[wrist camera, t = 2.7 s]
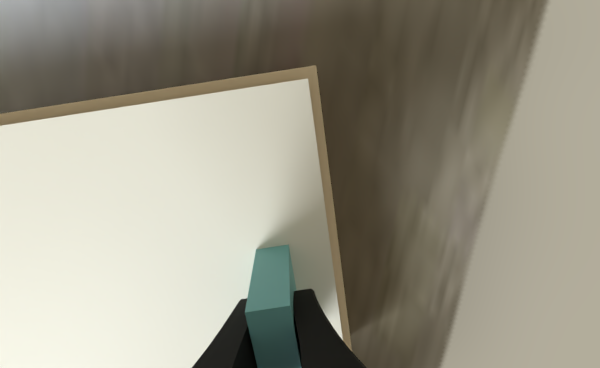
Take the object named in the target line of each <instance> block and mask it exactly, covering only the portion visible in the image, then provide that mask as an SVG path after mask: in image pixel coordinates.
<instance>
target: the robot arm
mask: <svg viewBox="0 0 600 368" xmlns="http://www.w3.org/2000/svg"><path fill="white" fill-rule="evenodd" d="M246 303H247V298H246V299H241V300H240V301H239V302H238V304H237V305H236V307H235V308H234V310H233V311H232V313H231V314H230V316H229V317H228V319H227V320H226V322H225V323H224V325H223V326H222V328H221V329H220V331H219V332H218V334H217V335H216V336H215V338H214V339H213V341H212V342H211V343H210V345H209V346H208V347H207V349H206V350H205V351H204V353H203V354H202V355H201V356H200V358H199V359H198V360H197V362H196V363H195V364H194V365H193V367H192V368H257V363H256V359H255V355H254V350H253V346H252V342H251V337H250V333H249V329H248V324H247V320H246V316H245V308H246ZM293 309H294V314H295V320H296V326H297V331H298V337H299V342H300V350H301V367H302V368H366V367H365V366H364V365H363V364H362V362H361V361H360V360H359V359H358V358H357V357H356V356H355V355H354V354H353V352H352V351H351V350H350V349H349V348H348V346H347V345H346V344H345V343H344V341H343V340H342V339H341V337H340V336H339V335H338V333H337V332H336V331H335V329H334V328H333V326H332V325H331V323H330V322H329V320H328V318H327V317H326V315H325V314H324V312H323V310H322V308H321V306H320V304H319V302H318V300H317V298H316V295H315V291H314V290H312V289H311V288H310V289H304V290H298V291H294V296H293Z"/></svg>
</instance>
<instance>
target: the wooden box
mask: <svg viewBox="0 0 600 368" xmlns="http://www.w3.org/2000/svg"><path fill="white" fill-rule="evenodd" d="M301 79H308V83H309V90H310V98H311V105H312V112H313V120H314V127H315V135H316V142H317V150H318V157H319V165H320V172H321V180H322V187H323V195H324V202H325V210H326V217H327V225H328V232H329V240H330V247H331V255H332V262H333V270H334V277H335V285H336V292H337V300H338V307H339V315H340V322H341V330H342V337H343V341H344V343H345V344H346V345H347V346H348V348H349V349H350V350H351V351H352V347H351V339H350V331H349V323H348V315H347V307H346V299H345V291H344V283H343V275H342V267H341V259H340V251H339V243H338V235H337V227H336V219H335V211H334V203H333V195H332V187H331V179H330V171H329V163H328V155H327V147H326V139H325V131H324V124H323V116H322V108H321V100H320V92H319V84H318V76H317V68H316V65H314V66H308V67H301V68H295V69H288V70H282V71H275V72H269V73H262V74H256V75H249V76H243V77H236V78H230V79H223V80H217V81H210V82H204V83H197V84H191V85H184V86H178V87H171V88H165V89H158V90H152V91H145V92H139V93H132V94H125V95H119V96H112V97H106V98H99V99H93V100H86V101H80V102H73V103H67V104H60V105H54V106H47V107H41V108H34V109H28V110H21V111H15V112H8V113H2V114H0V126H2V125H9V124H15V123H22V122H28V121H35V120H41V119H48V118H54V117H61V116H67V115H74V114H80V113H87V112H93V111H100V110H106V109H113V108H119V107H126V106H132V105H139V104H145V103H152V102H158V101H165V100H171V99H178V98H184V97H191V96H197V95H204V94H210V93H217V92H223V91H230V90H236V89H243V88H249V87H256V86H262V85H269V84H275V83H282V82H288V81H295V80H301Z"/></svg>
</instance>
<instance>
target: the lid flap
mask: <svg viewBox="0 0 600 368" xmlns="http://www.w3.org/2000/svg"><path fill="white" fill-rule="evenodd" d="M310 288H311V289H312V290H314V291H315V295H316V298H317V300H318V302H319V304H320V306H321V308H322V310H323V312H324V314H325V315H326V317H327V318H328V320H329V322H330V323H331V325H332V326H333V328H334V329H335V331H336V332H337V333H338V335H339V336H340V337H341V339H342V340H343V337H342V330H341V322H340V315H339V307H338V300H337V292H336V285H335V277H334V270H333V262H332V255H331V247H330V240H329V232H328V225H327V217H326V210H325V202H324V195H323V187H322V180H321V172H320V165H319V157H318V150H317V142H316V135H315V127H314V120H313V112H312V105H311V98H310V90H309V83H308V79H301V80H295V81H288V82H282V83H275V84H269V85H262V86H256V87H249V88H243V89H236V90H230V91H223V92H217V93H210V94H204V95H197V96H191V97H184V98H178V99H171V100H165V101H158V102H152V103H145V104H139V105H132V106H126V107H119V108H113V109H106V110H100V111H93V112H87V113H80V114H74V115H67V116H61V117H54V118H48V119H41V120H35V121H28V122H22V123H15V124H9V125H2V126H0V368H192V367H193V365H194V364H195V363H196V362H197V360H198V359H199V358H200V356H201V355H202V354H203V353H204V351H205V350H206V349H207V347H208V346H209V345H210V343H211V342H212V341H213V339H214V338H215V336H216V335H217V334H218V332H219V331H220V329H221V328H222V326H223V325H224V323H225V322H226V320H227V319H228V317H229V316H230V314H231V313H232V311H233V310H234V308H235V307H236V305H237V304H238V302H239V301H240V300H241V299H246V298H247V303H246V308H245V316H246V320H247V324H248V329H249V333H250V337H251V342H252V346H253V350H254V355H255V359H256V363H257V368H302V367H301V350H300V342H299V337H298V331H297V326H296V320H295V314H294V309H293V296H294V291H298V290H304V289H310Z"/></svg>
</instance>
